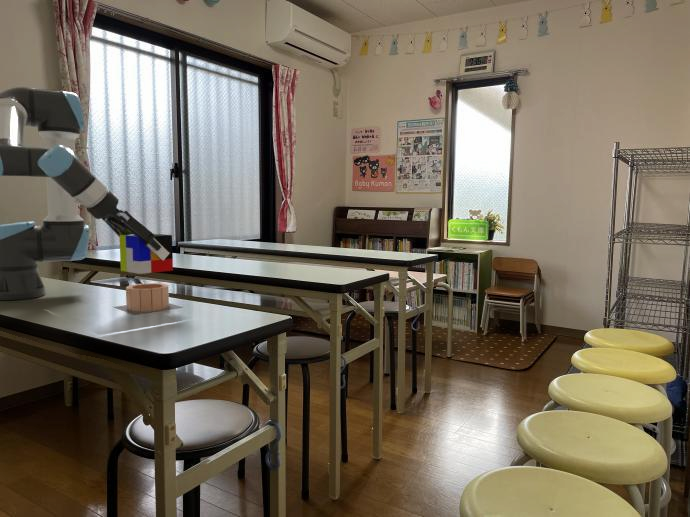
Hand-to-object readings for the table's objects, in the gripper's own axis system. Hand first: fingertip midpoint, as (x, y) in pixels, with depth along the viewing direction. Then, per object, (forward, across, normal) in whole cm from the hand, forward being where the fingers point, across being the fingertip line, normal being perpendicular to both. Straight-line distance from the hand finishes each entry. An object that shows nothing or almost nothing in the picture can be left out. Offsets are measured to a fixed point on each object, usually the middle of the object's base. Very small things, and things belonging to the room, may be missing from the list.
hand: (156, 255), depth 143 cm
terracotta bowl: (+8, 0, -12) cm, 15 cm away
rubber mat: (+9, 0, -13) cm, 15 cm away
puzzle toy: (+1, 0, -5) cm, 5 cm away
